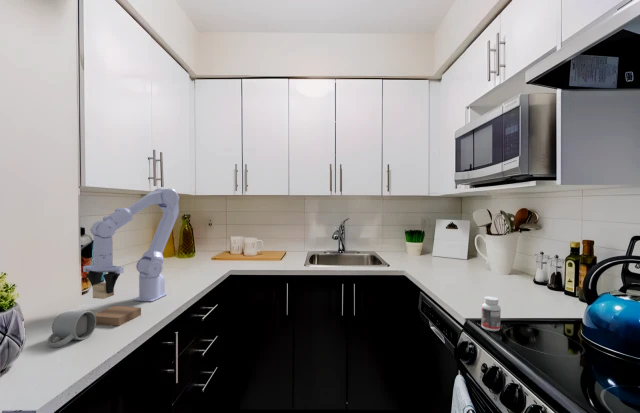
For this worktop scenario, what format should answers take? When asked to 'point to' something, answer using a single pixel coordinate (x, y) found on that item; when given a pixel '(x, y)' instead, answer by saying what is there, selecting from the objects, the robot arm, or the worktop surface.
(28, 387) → the worktop surface
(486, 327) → the pill bottle
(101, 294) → the oak cube
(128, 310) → the walnut block
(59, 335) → the ceramic mug
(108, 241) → the robot arm
